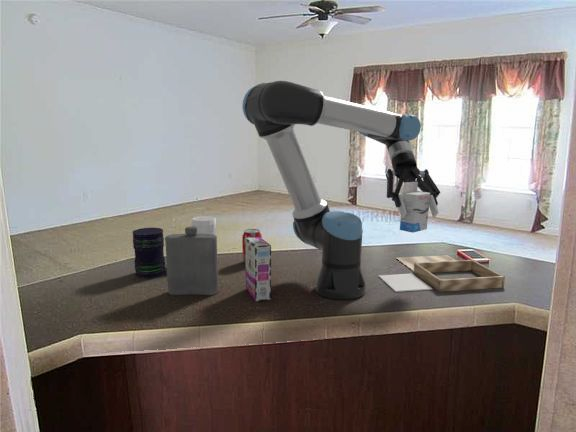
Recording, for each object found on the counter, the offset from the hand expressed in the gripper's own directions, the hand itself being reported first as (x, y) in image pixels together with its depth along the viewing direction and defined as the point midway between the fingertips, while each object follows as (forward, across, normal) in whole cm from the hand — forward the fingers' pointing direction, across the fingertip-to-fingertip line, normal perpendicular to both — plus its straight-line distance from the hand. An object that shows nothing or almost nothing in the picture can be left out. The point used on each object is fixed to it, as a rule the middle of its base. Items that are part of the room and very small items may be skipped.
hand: (420, 215), depth 133 cm
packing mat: (+14, +2, -19) cm, 23 cm away
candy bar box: (+16, +49, -18) cm, 54 cm away
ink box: (+1, 0, -6) cm, 7 cm away
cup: (-9, +65, -43) cm, 79 cm away
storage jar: (0, +83, -35) cm, 90 cm away
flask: (+13, +68, -21) cm, 72 cm away
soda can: (-6, +48, -40) cm, 62 cm away
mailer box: (+7, -16, -24) cm, 30 cm away
